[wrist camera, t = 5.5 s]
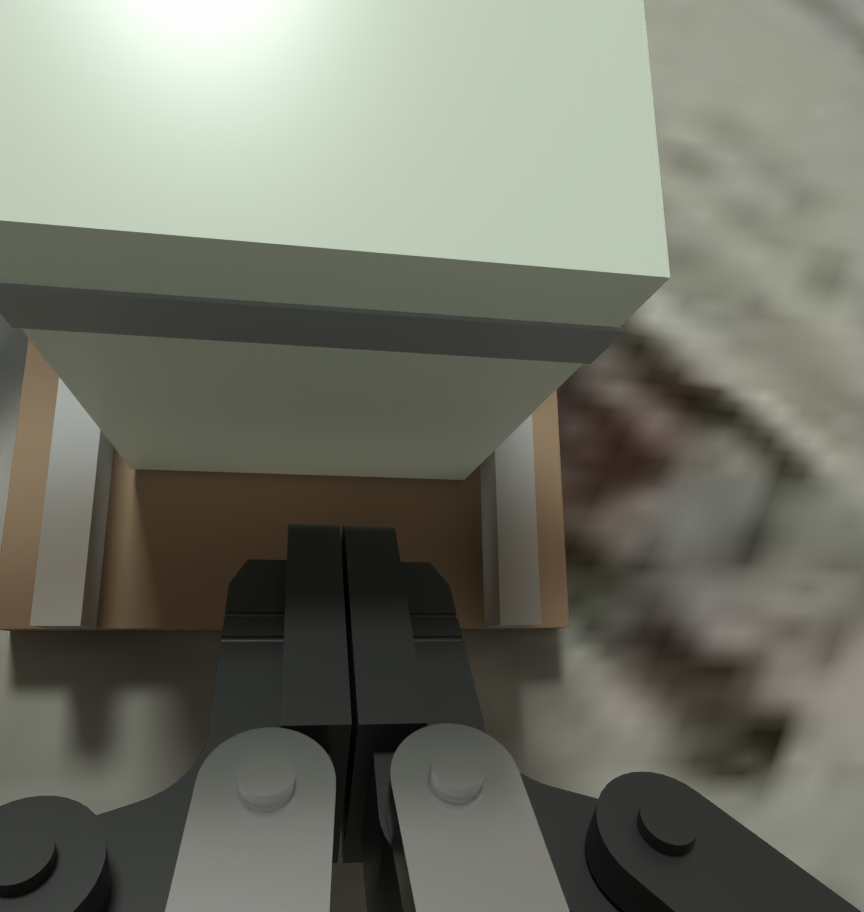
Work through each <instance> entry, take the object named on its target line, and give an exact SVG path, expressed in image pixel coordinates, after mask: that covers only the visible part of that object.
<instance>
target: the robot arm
mask: <svg viewBox="0 0 864 912" xmlns="http://www.w3.org/2000/svg"><path fill="white" fill-rule="evenodd" d="M456 614H457V613H456V609H455V605H454V600H453V596H452V592H451V588H450V585H449V584H448V583H447V582H446V581H445V580H444V578H443V577H442V576H441V575H440V574H439V572H438V571H437V570H436V569H435V568H434V567H433V565H432V564H431V563H430V562H401V561H400V555H399V549H398V543H397V537H396V531H395V528H394V527H387V526H345V525H343V529H342V536H341V537H340V526H339V525H312V524H288V539H287V560H261V559H248V560H247V561H246V562H245V564H244V565H243V566H242V567H241V569H240V570H239V571H238V573H237V574H236V575H235V576H234V578H233V579H232V580H231V581H230V583H229V586H228V593H227V601H226V608H225V618H224V623H223V630H222V640H221V645H220V652H219V659H218V667H217V674H216V681H215V689H214V696H213V703H212V711H211V718H210V725H209V733H208V737H207V741H206V744H205V747H204V749H203V751H202V754H201V755H200V757H199V758H198V760H197V761H196V763H195V764H194V765H193V767H192V768H191V769H190V770H189V771H188V772H187V773H186V774H185V775H184V776H183V777H182V778H181V779H180V780H178V781H177V782H176V783H174V784H173V785H172V786H170V787H169V788H167V789H166V790H164V791H162V792H160V793H158V794H156V795H154V796H152V797H150V798H147V799H145V800H142V801H140V802H137V803H133V804H130V805H127V806H124V807H121V808H118V809H115V810H112V811H109V812H106V813H102V814H99V815H95V814H94V813H93V812H92V811H91V810H90V809H89V808H88V807H86V806H84V805H83V804H81V803H79V802H77V801H74V800H71V799H69V798H64V797H58V796H36V797H28V798H24V799H20V800H16V801H12V802H10V803H7V804H5V805H2V806H0V912H329V911H330V892H331V873H332V863H337V859H338V850H339V840H340V831H341V830H342V854H343V863H351V862H363V863H364V879H365V894H366V906H367V912H861V911H859V910H858V909H857V908H855V907H854V906H853V905H851V904H850V903H848V902H847V901H846V900H844V899H843V898H842V897H840V896H839V895H837V894H836V893H835V892H833V891H832V890H831V889H829V888H828V887H827V886H825V885H824V884H822V883H821V882H820V881H818V880H817V879H816V878H814V877H813V876H811V875H810V874H809V873H807V872H806V871H805V870H803V869H802V868H801V867H799V866H798V865H796V864H795V863H794V862H792V861H791V860H790V859H788V858H787V857H785V856H784V855H783V854H781V853H780V852H779V851H777V850H776V849H775V848H773V847H772V846H770V845H769V844H768V843H766V842H765V841H764V840H762V839H761V838H759V837H758V836H757V835H755V834H754V833H753V832H751V831H750V830H749V829H747V828H746V827H744V826H743V825H742V824H740V823H739V822H738V821H736V820H735V819H733V818H732V817H731V816H729V815H728V814H727V813H725V812H724V811H723V810H721V809H720V808H718V807H717V806H716V805H714V804H713V803H712V802H710V801H709V800H707V799H706V798H705V797H703V796H702V795H701V794H699V793H698V792H697V791H695V790H694V789H692V788H690V787H689V786H687V785H686V784H684V783H682V782H680V781H678V780H676V779H674V778H671V777H668V776H665V775H662V774H657V773H653V772H631V773H628V774H624V775H621V776H619V777H617V778H615V779H613V780H612V781H611V782H610V783H608V784H607V785H606V787H605V788H604V789H603V791H602V792H601V794H600V797H599V799H596V798H593V797H589V796H585V795H581V794H577V793H574V792H570V791H566V790H562V789H559V788H555V787H551V786H548V785H545V784H542V783H539V782H537V781H534V780H532V779H530V778H528V777H526V776H525V775H523V774H521V773H520V772H519V770H518V767H517V765H516V763H515V761H514V759H513V758H512V756H511V755H510V753H509V752H508V751H507V750H506V749H505V748H504V747H503V746H502V744H500V743H499V742H498V741H497V740H495V739H494V738H493V737H491V736H490V735H488V734H487V733H486V730H485V728H484V724H483V720H482V715H481V711H480V707H479V703H478V699H477V695H476V691H475V687H474V683H473V678H472V674H471V670H470V666H469V662H468V658H467V654H466V650H465V646H464V642H462V633H461V629H460V625H459V621H458V619H457V618H456Z"/></svg>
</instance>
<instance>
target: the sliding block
mask: <svg viewBox="0 0 864 912" xmlns="http://www.w3.org/2000/svg"><path fill="white" fill-rule="evenodd" d="M669 278H670V272H669V261H668V251H667V241H666V230H665V220H664V210H663V199H662V189H661V178H660V168H659V158H658V147H657V137H656V127H655V116H654V106H653V95H652V85H651V75H650V64H649V54H648V43H647V33H646V23H645V12H644V2H643V0H0V313H1V314H2V316H3V317H4V318H5V319H6V321H7V322H8V323H9V324H10V326H11V327H12V328H21V329H22V330H23V331H24V332H25V334H26V335H27V336H28V338H29V339H30V340H31V341H32V343H33V344H34V345H35V347H36V348H37V349H38V350H39V352H40V353H41V354H42V355H43V357H44V358H45V359H46V361H47V362H48V363H49V364H50V366H51V367H52V368H53V370H54V371H55V372H56V373H57V375H58V376H59V377H60V379H61V380H62V381H63V382H64V384H65V385H66V386H67V387H68V389H69V390H70V391H71V393H72V394H73V395H74V396H75V398H76V399H77V400H78V402H79V403H80V404H81V405H82V407H83V408H84V409H85V410H86V412H87V413H88V414H89V416H90V417H91V418H92V419H93V421H94V422H95V423H96V425H97V426H98V427H99V428H100V430H101V431H102V432H103V433H104V435H105V436H106V437H107V439H108V440H109V441H110V442H111V444H112V445H113V446H114V448H115V449H116V450H117V451H118V453H119V454H120V455H121V457H122V458H123V459H124V460H125V462H126V463H127V464H128V465H129V467H130V468H131V469H143V470H174V471H205V472H235V473H266V474H296V475H327V476H358V477H388V478H419V479H449V480H465V479H466V478H467V477H468V476H469V475H470V474H471V473H472V472H473V471H474V470H475V469H476V468H477V467H478V466H479V465H480V464H481V463H482V462H483V461H484V460H485V459H486V458H487V457H488V456H489V455H490V454H491V453H492V452H493V451H494V450H495V449H496V448H497V447H498V446H499V445H501V444H502V443H503V442H504V441H505V440H506V439H507V438H508V437H509V436H510V435H511V434H512V433H513V432H514V431H515V430H516V429H517V428H518V427H519V426H520V425H521V424H522V423H523V422H524V421H525V420H526V419H527V418H528V417H529V416H530V415H531V414H532V413H533V412H534V411H535V410H536V409H537V408H538V407H539V406H540V405H541V404H542V403H543V402H544V401H545V400H546V399H547V398H548V397H549V396H550V395H551V394H552V393H553V392H554V391H555V390H556V389H557V388H558V387H559V386H560V385H561V384H562V383H563V382H564V381H566V380H567V379H568V378H569V377H570V376H571V375H572V374H573V373H574V372H575V371H576V370H577V369H578V368H579V367H580V366H581V365H582V364H591V363H592V362H593V361H594V360H595V359H596V358H597V357H598V356H599V355H600V354H601V353H602V352H603V351H604V350H605V349H606V348H608V347H609V346H610V345H611V344H612V343H613V342H614V341H615V340H616V339H617V338H618V337H619V336H620V335H621V334H622V333H623V332H624V326H623V323H624V322H625V321H626V320H627V319H628V318H630V317H631V316H632V315H633V314H634V313H635V312H636V311H637V310H638V309H639V308H640V307H641V306H642V305H643V304H644V303H645V302H646V301H647V300H648V299H649V298H650V297H651V296H652V295H653V294H654V293H655V292H656V291H657V290H658V289H659V288H660V287H661V286H662V285H663V284H664V283H665V282H666V281H667V280H668V279H669Z"/></svg>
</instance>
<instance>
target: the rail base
mask: <svg viewBox="0 0 864 912" xmlns="http://www.w3.org/2000/svg"><path fill="white" fill-rule="evenodd" d="M288 524H312V525H339V526H340V537H341V536H342V529H343V525H345V526H387V527H394V528H395V531H396V537H397V543H398V549H399V555H400V561H401V562H430V563H431V564H432V565H433V567H434V568H435V569H436V570H437V571H438V572H439V574H440V575H441V576H442V577H443V578H444V580H445V581H446V582H447V583H448V584H449V585H450V588H451V592H452V596H453V600H454V605H455V609H456V613H457V614H456V618H457V619H458V621H459V625H460V629H558V628H567V627H569V615H568V596H567V577H566V559H565V540H564V521H563V502H562V484H561V465H560V446H559V428H558V409H557V390H555V391H554V392H553V393H552V394H551V395H550V396H549V397H548V398H547V399H546V400H545V401H544V402H543V403H542V404H541V405H540V406H539V407H538V408H537V409H536V410H535V411H534V412H533V413H532V414H531V415H530V416H529V417H528V418H527V419H526V420H525V421H524V422H523V423H522V424H521V425H520V426H519V427H518V428H517V429H516V430H515V431H514V432H513V433H512V434H511V435H510V436H509V437H508V438H507V439H506V440H505V441H504V442H503V443H502V444H501V445H499V446H498V447H497V448H496V449H495V450H494V451H493V452H492V453H491V454H490V455H489V456H488V457H487V458H486V459H485V460H484V461H483V462H482V463H481V464H480V465H479V466H478V467H477V468H476V469H475V470H474V471H473V472H472V473H471V474H470V475H469V476H468V477H467V478H466V479H465V480H449V479H419V478H388V477H358V476H327V475H296V474H266V473H235V472H205V471H174V470H143V469H131V468H130V467H129V465H128V464H127V463H126V462H125V460H124V459H123V458H122V457H121V455H120V454H119V453H118V451H117V450H116V449H115V448H114V446H113V445H112V444H111V442H110V441H109V440H108V439H107V437H106V436H105V435H104V433H103V432H102V431H101V430H100V428H99V427H98V426H97V425H96V423H95V422H94V421H93V419H92V418H91V417H90V416H89V414H88V413H87V412H86V410H85V409H84V408H83V407H82V405H81V404H80V403H79V402H78V400H77V399H76V398H75V396H74V395H73V394H72V393H71V391H70V390H69V389H68V387H67V386H66V385H65V384H64V382H63V381H62V380H61V379H60V377H59V376H58V375H57V373H56V372H55V371H54V370H53V368H52V367H51V366H50V364H49V363H48V362H47V361H46V359H45V358H44V357H43V355H42V354H41V353H40V352H39V350H38V349H37V348H36V347H35V345H34V344H33V343H32V341H31V340H30V339H28V347H27V355H26V362H25V370H24V378H23V385H22V393H21V400H20V408H19V416H18V423H17V431H16V438H15V446H14V454H13V461H12V469H11V477H10V484H9V492H8V499H7V507H6V515H5V522H4V530H3V538H2V545H1V553H0V630H6V631H111V630H223V623H224V618H225V608H226V601H227V593H228V586H229V583H230V581H231V580H232V579H233V578H234V576H235V575H236V574H237V573H238V571H239V570H240V569H241V567H242V566H243V565H244V564H245V562H246V561H247V560H248V559H261V560H287V539H288Z"/></svg>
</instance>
